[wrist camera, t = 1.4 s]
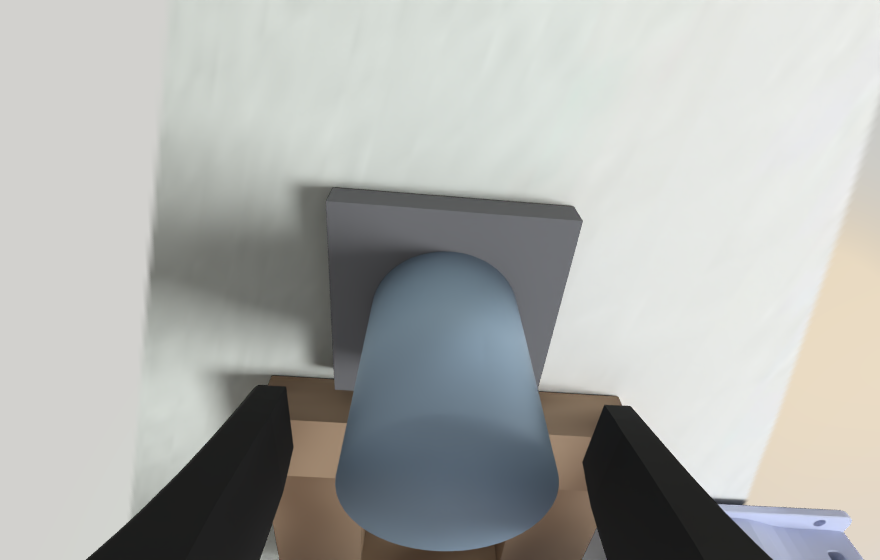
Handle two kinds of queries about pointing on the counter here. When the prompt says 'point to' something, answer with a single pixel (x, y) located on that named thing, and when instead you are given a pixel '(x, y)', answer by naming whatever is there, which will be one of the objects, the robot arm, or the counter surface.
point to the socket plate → (367, 556)
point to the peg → (446, 412)
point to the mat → (449, 230)
